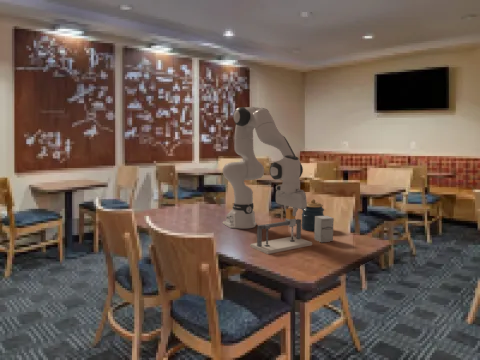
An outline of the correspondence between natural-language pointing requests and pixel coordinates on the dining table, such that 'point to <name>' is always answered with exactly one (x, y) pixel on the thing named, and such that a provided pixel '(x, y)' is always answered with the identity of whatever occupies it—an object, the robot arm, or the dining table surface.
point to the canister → (311, 215)
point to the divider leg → (290, 219)
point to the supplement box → (323, 228)
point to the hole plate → (281, 243)
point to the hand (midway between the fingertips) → (290, 215)
